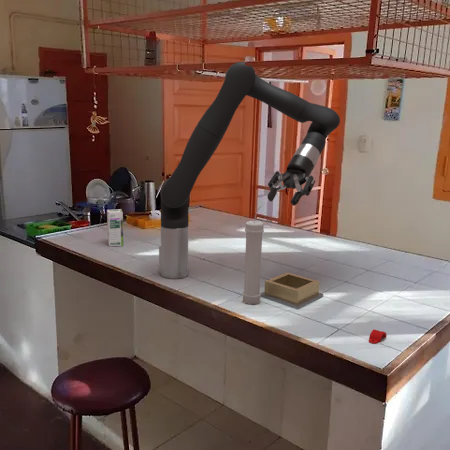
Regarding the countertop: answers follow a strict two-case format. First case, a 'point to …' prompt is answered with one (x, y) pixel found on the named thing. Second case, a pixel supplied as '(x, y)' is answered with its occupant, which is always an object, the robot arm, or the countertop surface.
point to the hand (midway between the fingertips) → (280, 201)
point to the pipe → (253, 261)
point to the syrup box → (115, 227)
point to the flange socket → (292, 290)
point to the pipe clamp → (376, 336)
